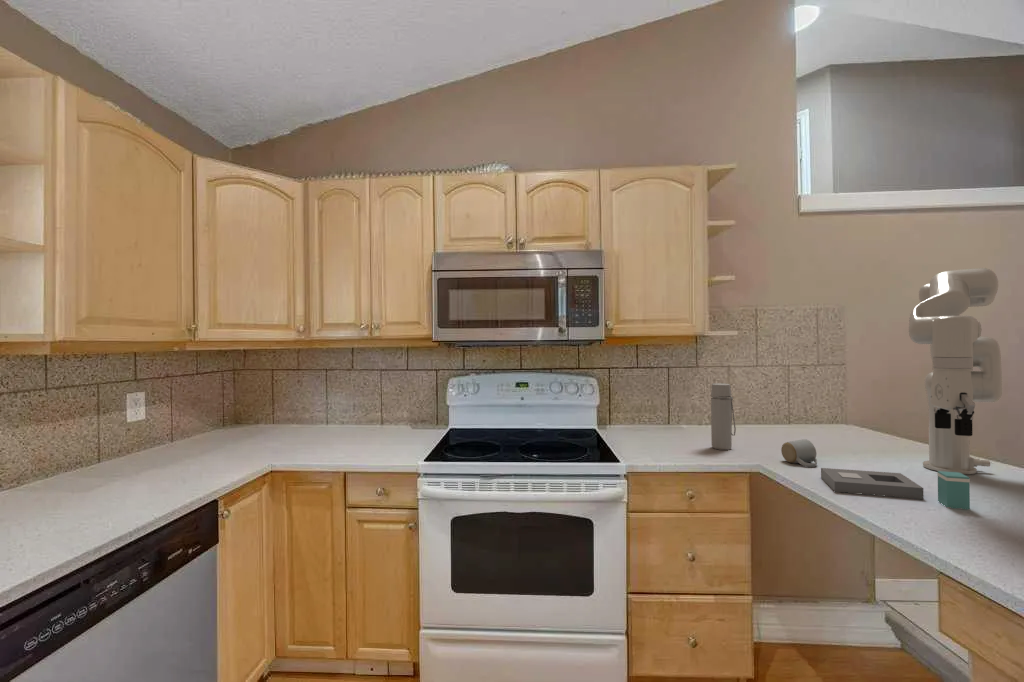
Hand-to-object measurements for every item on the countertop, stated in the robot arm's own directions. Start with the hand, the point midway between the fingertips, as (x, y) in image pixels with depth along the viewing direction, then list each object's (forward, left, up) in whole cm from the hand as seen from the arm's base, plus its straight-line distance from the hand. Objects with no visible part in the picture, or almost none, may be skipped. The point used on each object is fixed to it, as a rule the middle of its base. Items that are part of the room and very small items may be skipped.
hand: (952, 431), depth 119 cm
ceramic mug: (+27, -34, -19) cm, 47 cm away
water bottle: (+50, -49, -19) cm, 73 cm away
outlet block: (+15, -10, -19) cm, 26 cm away
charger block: (0, 0, -19) cm, 19 cm away
